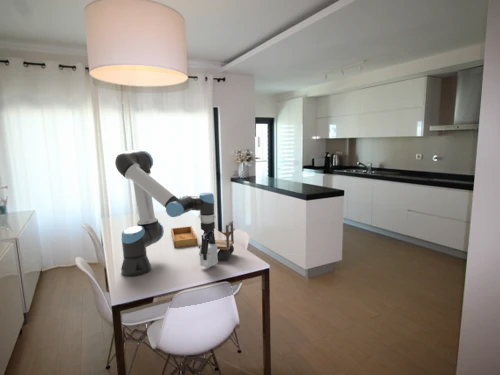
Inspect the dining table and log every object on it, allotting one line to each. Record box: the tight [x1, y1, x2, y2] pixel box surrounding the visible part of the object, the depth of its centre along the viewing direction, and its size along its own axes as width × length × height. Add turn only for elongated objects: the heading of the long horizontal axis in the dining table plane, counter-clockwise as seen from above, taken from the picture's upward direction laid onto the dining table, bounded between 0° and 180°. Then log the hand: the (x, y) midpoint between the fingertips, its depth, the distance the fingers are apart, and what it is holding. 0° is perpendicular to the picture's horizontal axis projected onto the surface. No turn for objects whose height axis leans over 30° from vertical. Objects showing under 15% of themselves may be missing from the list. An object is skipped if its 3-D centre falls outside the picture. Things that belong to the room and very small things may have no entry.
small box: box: [199, 243, 219, 269], centre depth 168 cm, size 8×6×10 cm
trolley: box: [198, 220, 235, 262], centre depth 183 cm, size 12×18×21 cm, turn 78°
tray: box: [170, 225, 198, 249], centre depth 220 cm, size 31×15×6 cm, turn 17°
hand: (209, 261), depth 169 cm, fingers closed on small box, 9 cm apart
